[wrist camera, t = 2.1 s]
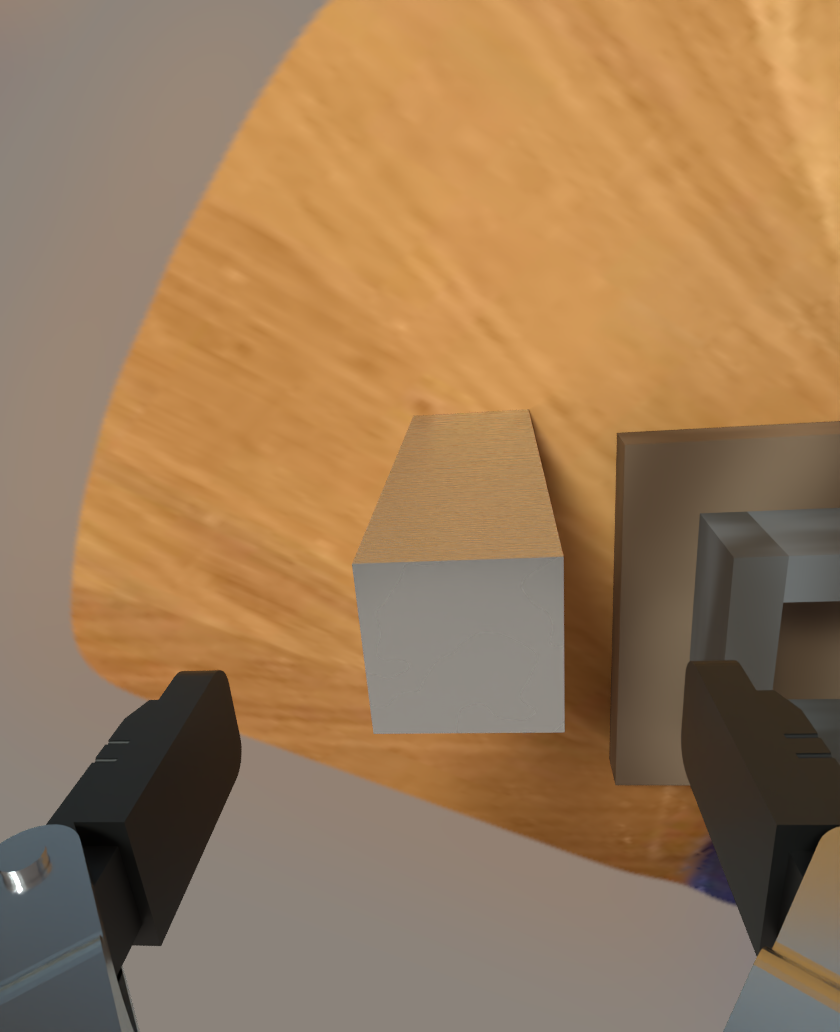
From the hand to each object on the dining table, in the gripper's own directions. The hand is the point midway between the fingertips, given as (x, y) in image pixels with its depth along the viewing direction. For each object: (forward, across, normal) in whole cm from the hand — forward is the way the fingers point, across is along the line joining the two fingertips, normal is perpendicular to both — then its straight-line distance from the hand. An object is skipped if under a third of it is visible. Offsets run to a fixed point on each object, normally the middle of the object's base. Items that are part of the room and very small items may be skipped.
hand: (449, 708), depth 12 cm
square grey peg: (+14, 0, 0) cm, 14 cm away
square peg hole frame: (+14, -12, +6) cm, 19 cm away
